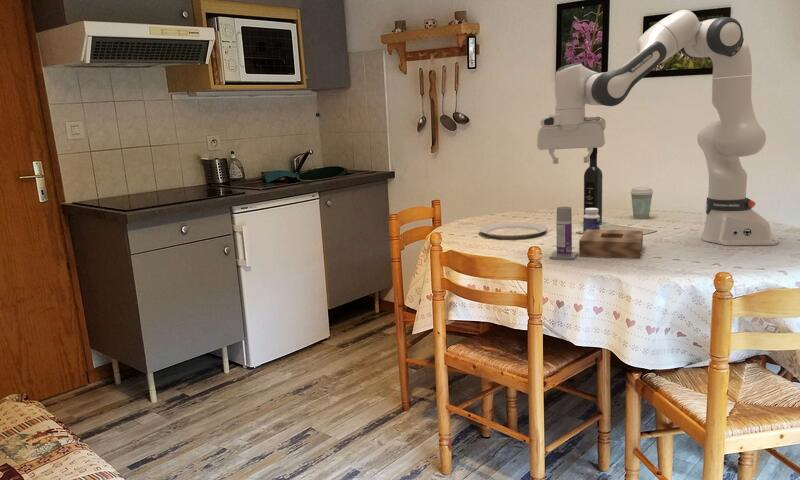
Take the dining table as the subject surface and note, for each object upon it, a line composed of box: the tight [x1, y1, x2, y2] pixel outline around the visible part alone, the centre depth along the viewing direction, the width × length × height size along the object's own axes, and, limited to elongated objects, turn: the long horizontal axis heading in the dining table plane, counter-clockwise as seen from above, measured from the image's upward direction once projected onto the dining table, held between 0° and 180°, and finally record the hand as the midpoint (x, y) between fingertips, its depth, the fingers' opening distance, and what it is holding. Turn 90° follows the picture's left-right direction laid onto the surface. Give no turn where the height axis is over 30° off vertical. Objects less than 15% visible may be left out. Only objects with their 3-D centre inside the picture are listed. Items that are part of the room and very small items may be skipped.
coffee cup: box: [630, 186, 654, 220], centre depth 252 cm, size 8×8×12 cm
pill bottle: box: [582, 208, 601, 235], centre depth 225 cm, size 6×6×10 cm
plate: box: [478, 221, 548, 239], centre depth 239 cm, size 26×26×2 cm
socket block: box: [578, 229, 644, 259], centre depth 202 cm, size 18×18×5 cm
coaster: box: [549, 250, 579, 261], centre depth 199 cm, size 8×8×1 cm
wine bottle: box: [583, 147, 603, 225], centre depth 243 cm, size 6×6×30 cm
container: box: [556, 206, 573, 256], centre depth 197 cm, size 5×5×15 cm
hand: (570, 163), depth 195 cm, fingers open, 8 cm apart
